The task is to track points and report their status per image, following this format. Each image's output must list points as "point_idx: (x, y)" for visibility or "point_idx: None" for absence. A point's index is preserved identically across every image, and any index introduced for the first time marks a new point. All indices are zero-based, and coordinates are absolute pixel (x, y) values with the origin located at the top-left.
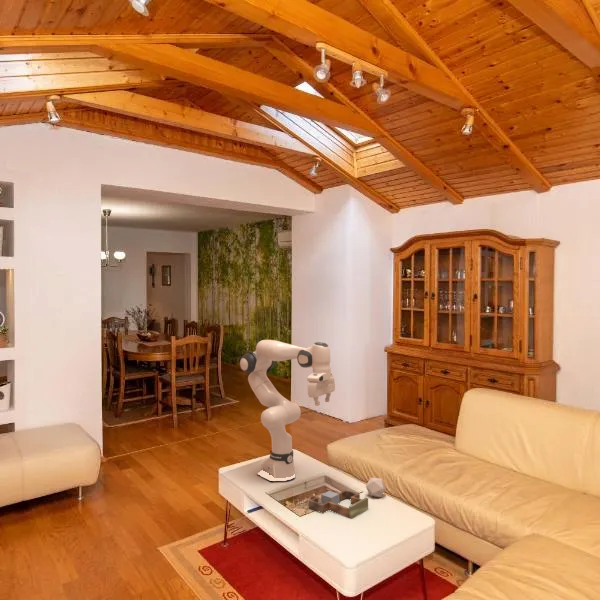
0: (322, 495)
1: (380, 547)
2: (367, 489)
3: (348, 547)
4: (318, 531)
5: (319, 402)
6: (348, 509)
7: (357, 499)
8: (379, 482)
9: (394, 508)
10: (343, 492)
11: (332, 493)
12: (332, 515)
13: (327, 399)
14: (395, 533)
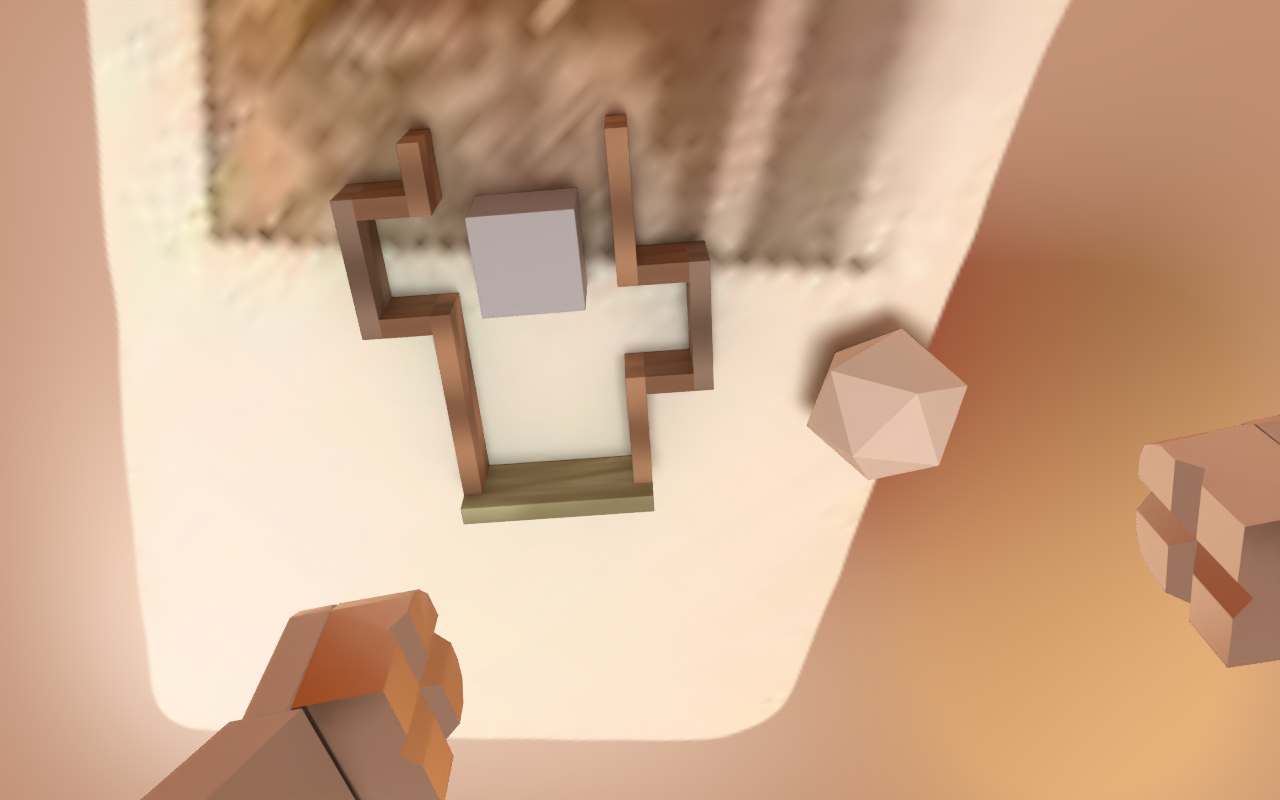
0: (467, 229)
1: None
2: (829, 370)
3: (244, 646)
4: (205, 457)
5: (444, 778)
6: (464, 489)
7: (630, 432)
8: (889, 466)
9: (769, 557)
10: (657, 283)
11: (549, 268)
12: (411, 377)
13: (1199, 616)
14: (527, 699)
